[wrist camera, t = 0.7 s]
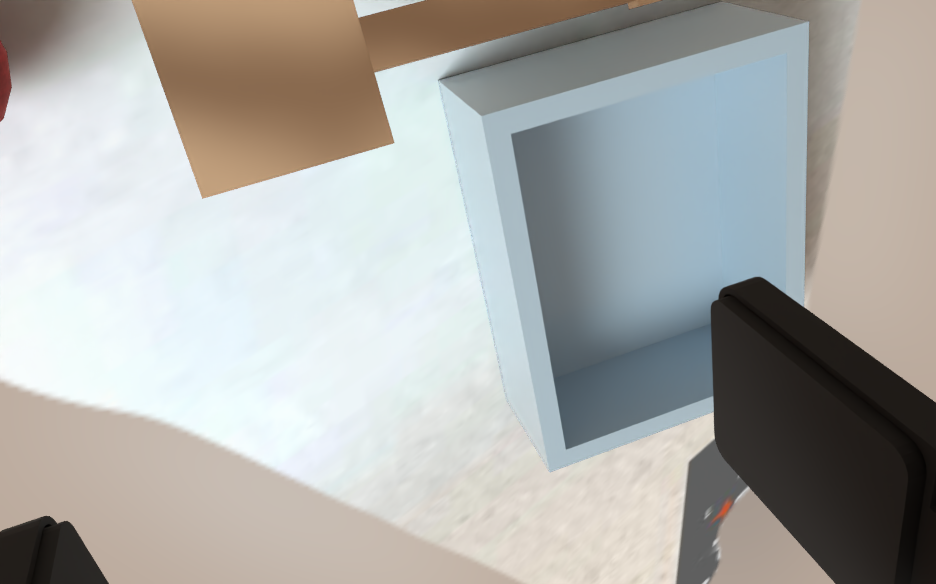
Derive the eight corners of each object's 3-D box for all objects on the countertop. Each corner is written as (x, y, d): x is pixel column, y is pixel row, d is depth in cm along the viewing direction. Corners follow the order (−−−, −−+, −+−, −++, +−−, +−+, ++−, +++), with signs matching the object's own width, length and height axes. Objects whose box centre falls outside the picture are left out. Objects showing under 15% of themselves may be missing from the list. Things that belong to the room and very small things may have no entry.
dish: (438, 80, 35) (481, 116, 30) (721, 1, 38) (809, 21, 32) (506, 400, 44) (549, 472, 39) (732, 321, 47) (802, 379, 41)
